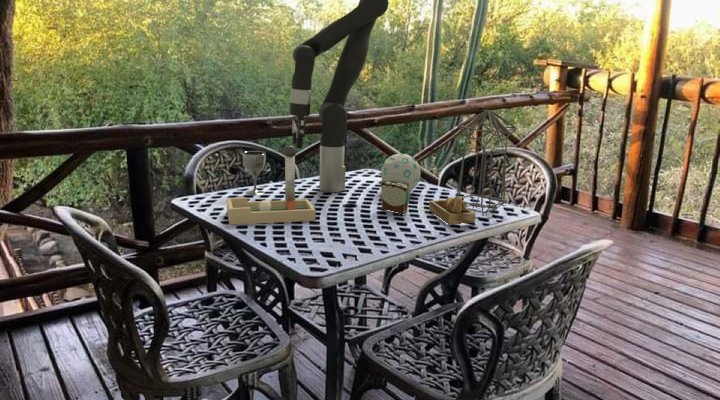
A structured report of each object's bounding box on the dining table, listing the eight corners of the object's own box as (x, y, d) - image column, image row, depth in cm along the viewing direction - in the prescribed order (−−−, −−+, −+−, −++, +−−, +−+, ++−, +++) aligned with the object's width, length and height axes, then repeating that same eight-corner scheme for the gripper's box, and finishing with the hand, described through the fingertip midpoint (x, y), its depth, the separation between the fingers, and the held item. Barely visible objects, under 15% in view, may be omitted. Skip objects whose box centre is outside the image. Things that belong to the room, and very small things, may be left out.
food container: (418, 212, 196) (419, 183, 193) (406, 216, 191) (408, 186, 189) (390, 205, 204) (391, 177, 201) (378, 208, 199) (379, 180, 197)
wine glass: (241, 191, 217) (240, 151, 213) (262, 189, 220) (262, 150, 216) (247, 196, 210) (246, 155, 206) (268, 194, 213) (268, 154, 210)
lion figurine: (467, 226, 183) (469, 198, 180) (451, 226, 182) (453, 198, 179) (450, 213, 197) (452, 187, 194) (435, 213, 195) (437, 187, 193)
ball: (270, 210, 187) (270, 198, 186) (272, 213, 184) (272, 201, 183) (258, 211, 186) (257, 199, 185) (259, 214, 183) (259, 202, 182)
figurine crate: (452, 211, 199) (453, 199, 198) (474, 225, 183) (475, 213, 182) (429, 212, 197) (429, 200, 196) (449, 226, 181) (450, 214, 180)
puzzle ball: (374, 194, 218) (375, 155, 214) (387, 186, 232) (389, 149, 228) (412, 199, 213) (415, 159, 209) (424, 190, 226) (426, 152, 222)
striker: (295, 207, 190) (295, 144, 184) (297, 210, 185) (297, 146, 180) (282, 207, 189) (282, 144, 183) (284, 211, 184) (284, 146, 179)
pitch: (307, 209, 196) (307, 195, 194) (315, 220, 183) (315, 205, 182) (227, 213, 188) (226, 198, 187) (229, 224, 176) (229, 209, 175)
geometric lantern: (447, 213, 196) (454, 109, 187) (472, 205, 207) (480, 106, 198) (488, 224, 185) (498, 114, 176) (512, 214, 197) (522, 110, 188)
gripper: (314, 104, 205) (310, 150, 209) (306, 100, 219) (303, 143, 223) (293, 103, 203) (290, 149, 207) (287, 99, 217) (284, 142, 220)
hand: (297, 146), depth 215 cm, fingers open, 8 cm apart
